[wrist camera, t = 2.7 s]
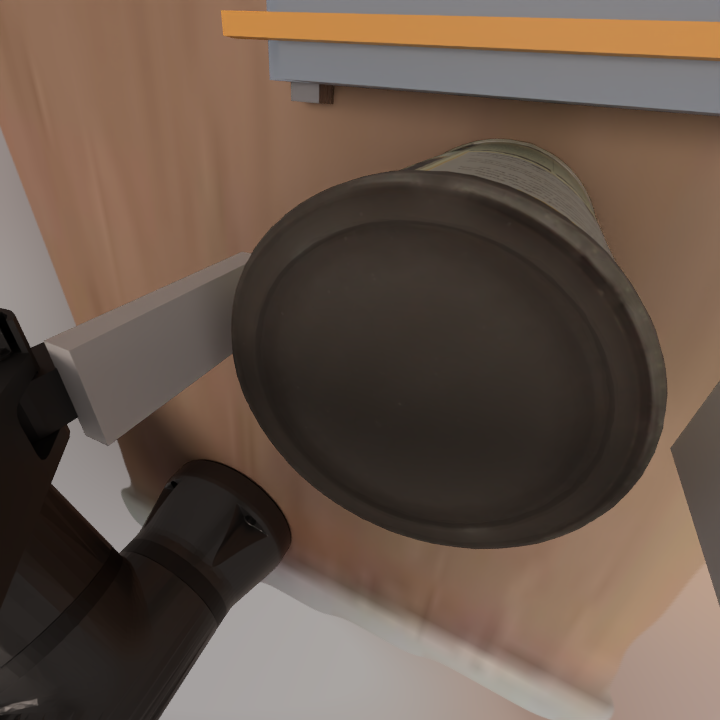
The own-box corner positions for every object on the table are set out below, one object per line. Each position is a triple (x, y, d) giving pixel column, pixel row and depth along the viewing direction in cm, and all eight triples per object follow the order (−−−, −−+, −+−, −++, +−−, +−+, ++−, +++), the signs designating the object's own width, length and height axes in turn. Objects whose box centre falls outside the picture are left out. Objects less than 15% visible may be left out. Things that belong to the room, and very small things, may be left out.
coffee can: (524, 367, 23) (497, 602, 12) (368, 291, 25) (215, 436, 13) (655, 189, 17) (849, 335, 6) (434, 101, 18) (251, 83, 7)
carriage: (282, 81, 19) (217, 73, 15) (280, -3, 17) (206, -35, 14) (871, 128, 13) (1001, 134, 9) (955, 4, 11) (1156, -50, 7)
